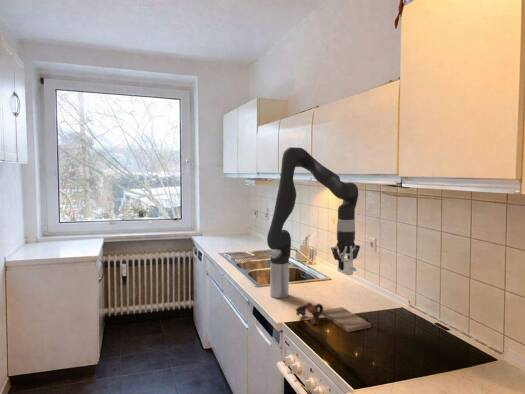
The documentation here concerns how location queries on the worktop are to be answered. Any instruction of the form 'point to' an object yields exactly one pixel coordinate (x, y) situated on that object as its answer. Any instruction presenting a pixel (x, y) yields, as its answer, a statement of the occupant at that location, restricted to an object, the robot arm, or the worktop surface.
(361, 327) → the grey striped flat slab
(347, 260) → the plug
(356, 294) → the worktop surface
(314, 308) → the brown irregular piece
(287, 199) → the robot arm
